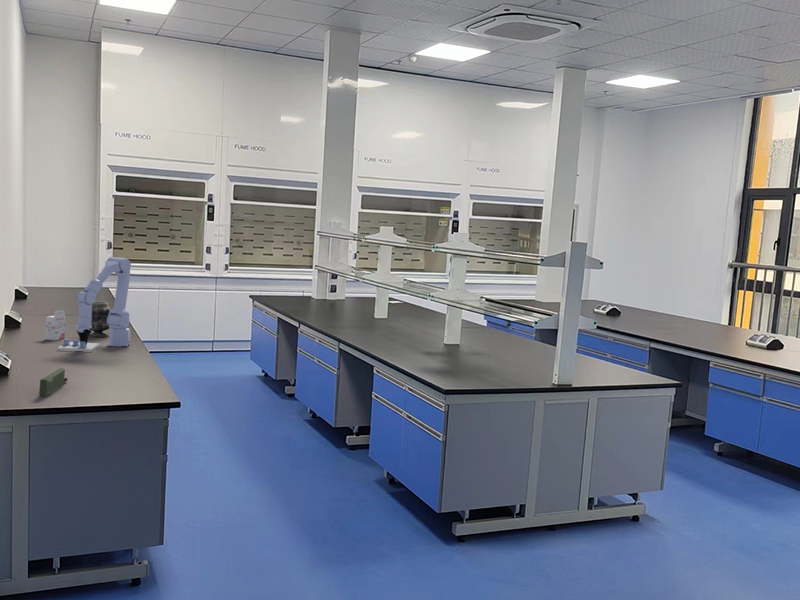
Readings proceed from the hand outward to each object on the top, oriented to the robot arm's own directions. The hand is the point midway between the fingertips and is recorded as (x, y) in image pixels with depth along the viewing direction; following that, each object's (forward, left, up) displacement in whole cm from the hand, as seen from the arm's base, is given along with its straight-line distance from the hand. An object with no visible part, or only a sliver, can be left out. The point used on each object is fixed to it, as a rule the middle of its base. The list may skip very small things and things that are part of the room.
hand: (83, 345), depth 344 cm
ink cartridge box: (+20, -28, -3) cm, 35 cm away
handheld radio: (-10, +80, -3) cm, 81 cm away
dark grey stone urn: (+3, -44, -3) cm, 44 cm away
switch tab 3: (0, +2, -1) cm, 2 cm away
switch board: (+3, -4, -2) cm, 5 cm away
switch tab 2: (+4, -3, -1) cm, 5 cm away
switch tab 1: (+9, -3, -1) cm, 9 cm away
